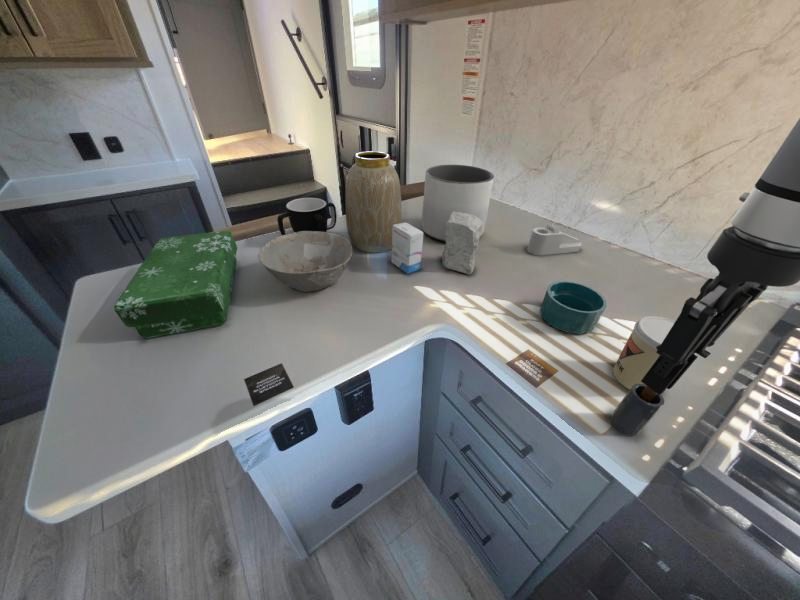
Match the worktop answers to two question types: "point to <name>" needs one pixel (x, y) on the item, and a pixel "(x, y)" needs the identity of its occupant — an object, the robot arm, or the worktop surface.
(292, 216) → the mug
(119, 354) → the worktop surface
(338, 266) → the ceramic bowl
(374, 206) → the vase
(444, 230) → the planter
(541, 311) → the teal bowl
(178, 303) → the box
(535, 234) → the grey mounting bracket
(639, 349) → the coffee cup
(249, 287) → the worktop surface
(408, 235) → the ink box
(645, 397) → the stick
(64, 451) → the worktop surface
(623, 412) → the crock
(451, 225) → the decorative stone
